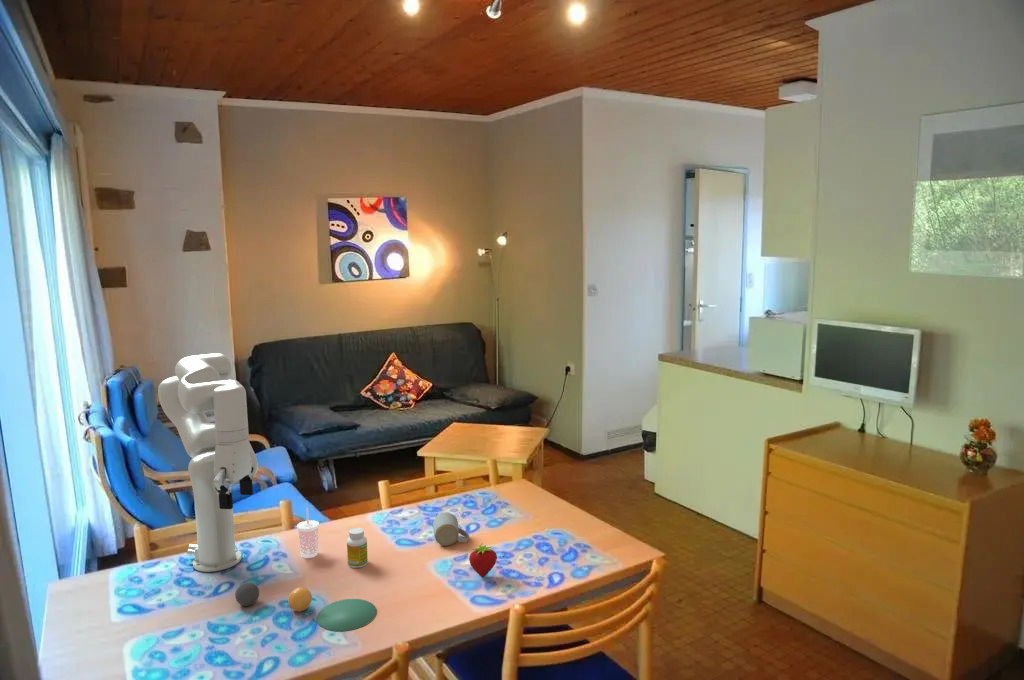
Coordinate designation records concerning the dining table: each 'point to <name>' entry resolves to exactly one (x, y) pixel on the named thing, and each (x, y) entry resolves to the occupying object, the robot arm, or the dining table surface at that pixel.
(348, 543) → the supplement bottle
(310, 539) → the beverage cup
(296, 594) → the orange ball
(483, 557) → the strawberry
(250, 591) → the charcoal cue ball
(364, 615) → the green ellipsoid
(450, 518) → the ceramic mug
